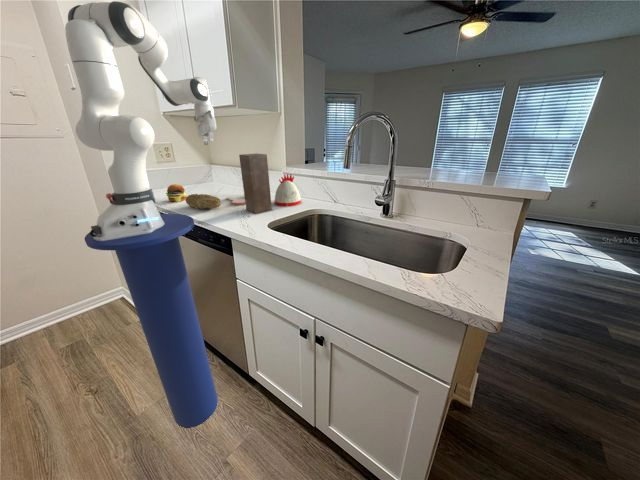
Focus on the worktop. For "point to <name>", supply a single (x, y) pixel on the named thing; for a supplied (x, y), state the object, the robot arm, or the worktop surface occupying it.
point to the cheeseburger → (176, 193)
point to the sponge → (203, 201)
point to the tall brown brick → (256, 182)
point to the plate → (236, 201)
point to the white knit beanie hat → (287, 193)
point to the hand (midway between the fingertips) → (208, 143)
